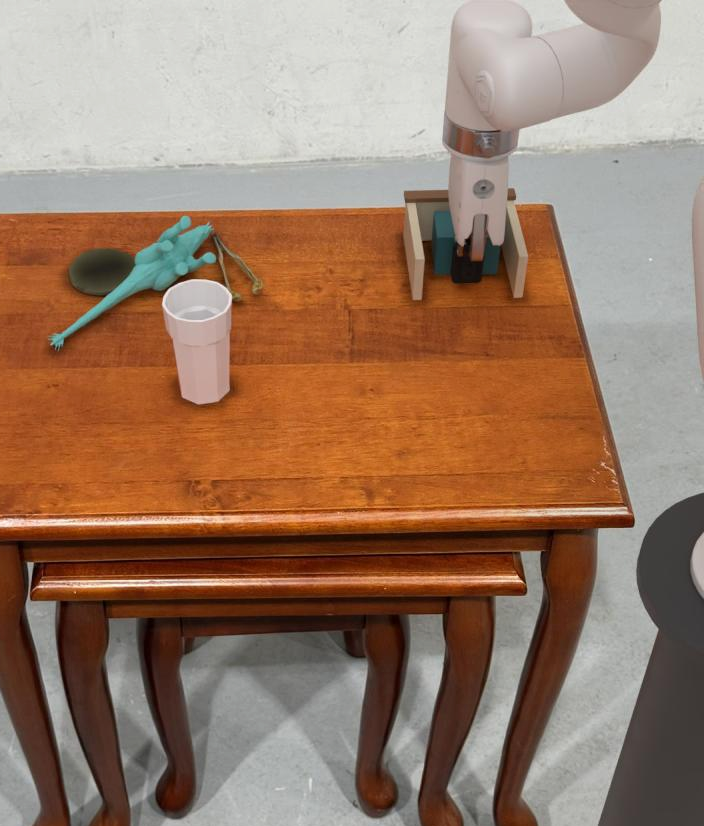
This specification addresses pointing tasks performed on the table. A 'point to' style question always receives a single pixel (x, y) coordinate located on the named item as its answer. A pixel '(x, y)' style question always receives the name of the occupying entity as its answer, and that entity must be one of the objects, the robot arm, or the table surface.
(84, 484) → the table surface
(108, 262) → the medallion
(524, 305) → the table surface
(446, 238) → the box
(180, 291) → the cup
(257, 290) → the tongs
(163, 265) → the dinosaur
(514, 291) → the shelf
